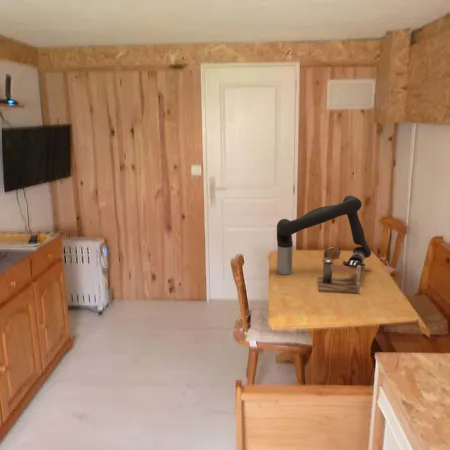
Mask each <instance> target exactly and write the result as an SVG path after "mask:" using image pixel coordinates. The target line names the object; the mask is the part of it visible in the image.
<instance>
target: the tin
mask: <svg viewBox="0 0 450 450" xmlns="http://www.w3.org/2000/svg"><path fill="white" fill-rule="evenodd" d="M340 255H341V248H340V247H339V246H335V245H334V246H332V247H327V248H325V250H324V251H323V259H324V258H331V259H333V260H334V261H335V260H337V259H338V258H339V257H340Z"/></svg>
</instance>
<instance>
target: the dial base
mask: <svg viewBox="0 0 450 450" xmlns="http://www.w3.org/2000/svg"><path fill="white" fill-rule="evenodd" d="M356 268H357V274H356V277H355V278H356V281H354V278H352V277H333V276H332V282H331V283H324V282H323V276H317V285H318V288H317V289H318V292H319V293H333V294H334V293H335V294H350V295H351V294H354V295H355V294H360V288H361V287H360V286H361V272H362V269H361V266H360V265H358V266H357V267H356Z"/></svg>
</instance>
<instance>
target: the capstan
mask: <svg viewBox="0 0 450 450" xmlns="http://www.w3.org/2000/svg"><path fill="white" fill-rule="evenodd" d="M334 261H335V259H334V260H333V259H331V258H324V257H323V259H322V262H323V264H322V265H323V266H322V267H323V268H322V269H323V270H322V277H323V282H324V283H331V282H332V277H333V270H334V271H337V272H341V273H342V272H343V273H346V274H351V275H357V268H354V267H349V266H344V265H343V264H338V263H335V262H334Z"/></svg>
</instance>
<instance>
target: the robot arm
mask: <svg viewBox="0 0 450 450" xmlns="http://www.w3.org/2000/svg"><path fill="white" fill-rule="evenodd" d="M361 207H362V200H361V199H359V198H358V197H356V196H354V195H347V196H345V197H344V199H343V200H342V202H340V203H337V204H334V205H333V204H332V205H325V206H320V207H318V208H315V209H313V210H310V211H308V212H306V214H304V215H302V216H301V217H298V218H295V219H292V220H289V219H287V218H282V219H280V220H279V221H278V222H277V224H276V241H277V242H276V244H277V246H276V247H277V249H276V250H277V253H276V254H277V257H276V263H277V264H276V273H277V274H279V275H285V276H287V275H291V274H293V254H294V253H293V248H294V247H293V246H294V245H293V243H294V242H293V235H294V234H296V233H299V232H301V231H303V230H305V229H309V228H311V227H315V226H317V225H321V224H324V223H327V222H328V221H332V220H334V219H336V218H339V217H341V216H344V215H346V216H347V219H348V222H349V223H348V224H349V227H350V231H351V235H352V241H353V243H354V244H355V245H359V246H356V247H354V248H353V250H352V255H351V256H350V258H349V260H347V261H345V260H343V261H342V265H344V266H349V267H354V268H356V267H357V266H358V265H360V266H361V270H362V269H365V268H366V263H365V259H366V258H370V257H371V255H372V251H371V248H370V246H369V244H368V242H367V240H366V237H365V232H364V228H363V226H362V223H361V221H360V218H359V214H358V212H359V211H360V209H361Z"/></svg>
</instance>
